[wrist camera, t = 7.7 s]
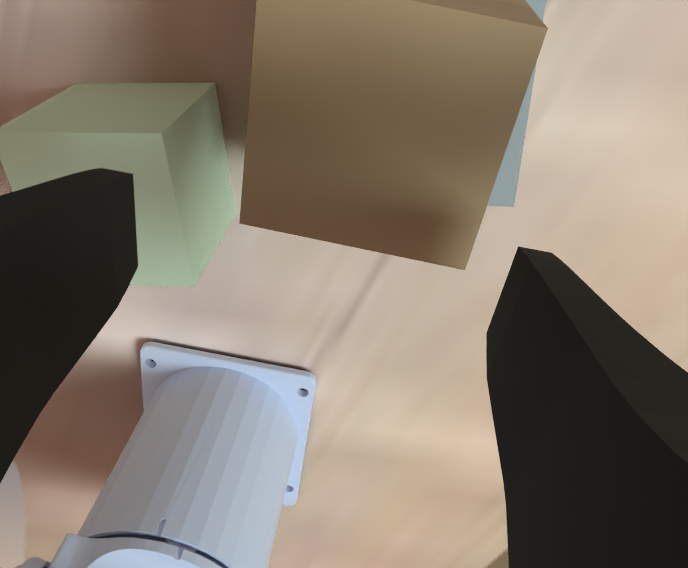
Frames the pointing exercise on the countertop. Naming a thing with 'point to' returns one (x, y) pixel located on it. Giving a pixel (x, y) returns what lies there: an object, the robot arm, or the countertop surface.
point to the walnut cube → (384, 119)
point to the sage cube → (137, 164)
